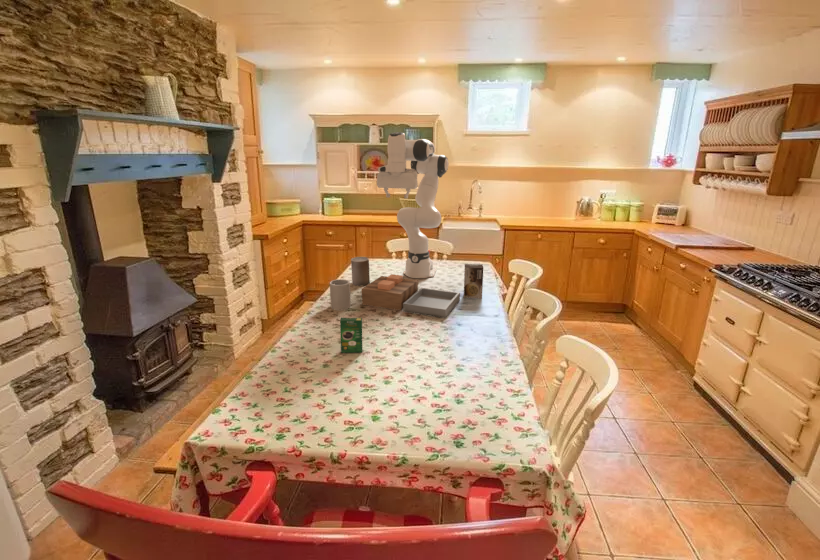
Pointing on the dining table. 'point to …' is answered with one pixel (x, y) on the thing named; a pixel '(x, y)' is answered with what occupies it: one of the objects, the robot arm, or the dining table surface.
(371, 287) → the brown wooden block
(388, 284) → the terracotta tile
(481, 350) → the dining table surface
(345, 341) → the coffee box
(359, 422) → the dining table surface
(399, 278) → the terracotta tile
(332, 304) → the cup
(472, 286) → the coffee box
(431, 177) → the robot arm
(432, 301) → the box
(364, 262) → the pillar candle
